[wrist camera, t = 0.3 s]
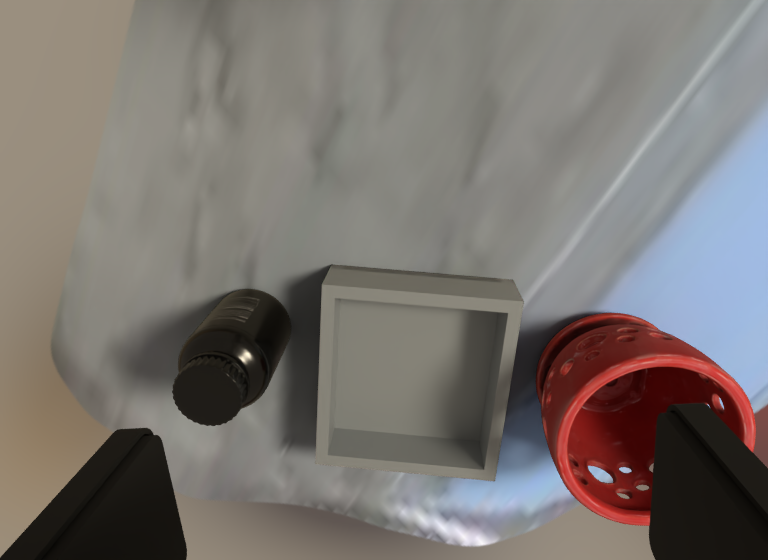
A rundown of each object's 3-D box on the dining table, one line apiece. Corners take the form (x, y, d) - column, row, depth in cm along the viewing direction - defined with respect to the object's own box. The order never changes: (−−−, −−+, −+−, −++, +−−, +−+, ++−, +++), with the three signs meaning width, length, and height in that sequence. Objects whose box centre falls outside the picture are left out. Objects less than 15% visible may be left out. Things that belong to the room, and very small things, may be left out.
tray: (331, 264, 47) (321, 284, 42) (513, 279, 46) (523, 301, 42) (324, 429, 52) (315, 464, 47) (487, 445, 52) (494, 481, 47)
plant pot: (705, 386, 49) (793, 476, 37) (567, 454, 52) (610, 557, 40) (637, 264, 46) (710, 322, 34) (494, 343, 48) (518, 421, 37)
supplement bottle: (202, 334, 50) (139, 408, 38) (236, 272, 48) (180, 330, 36) (271, 372, 51) (228, 455, 39) (307, 312, 49) (274, 381, 37)
